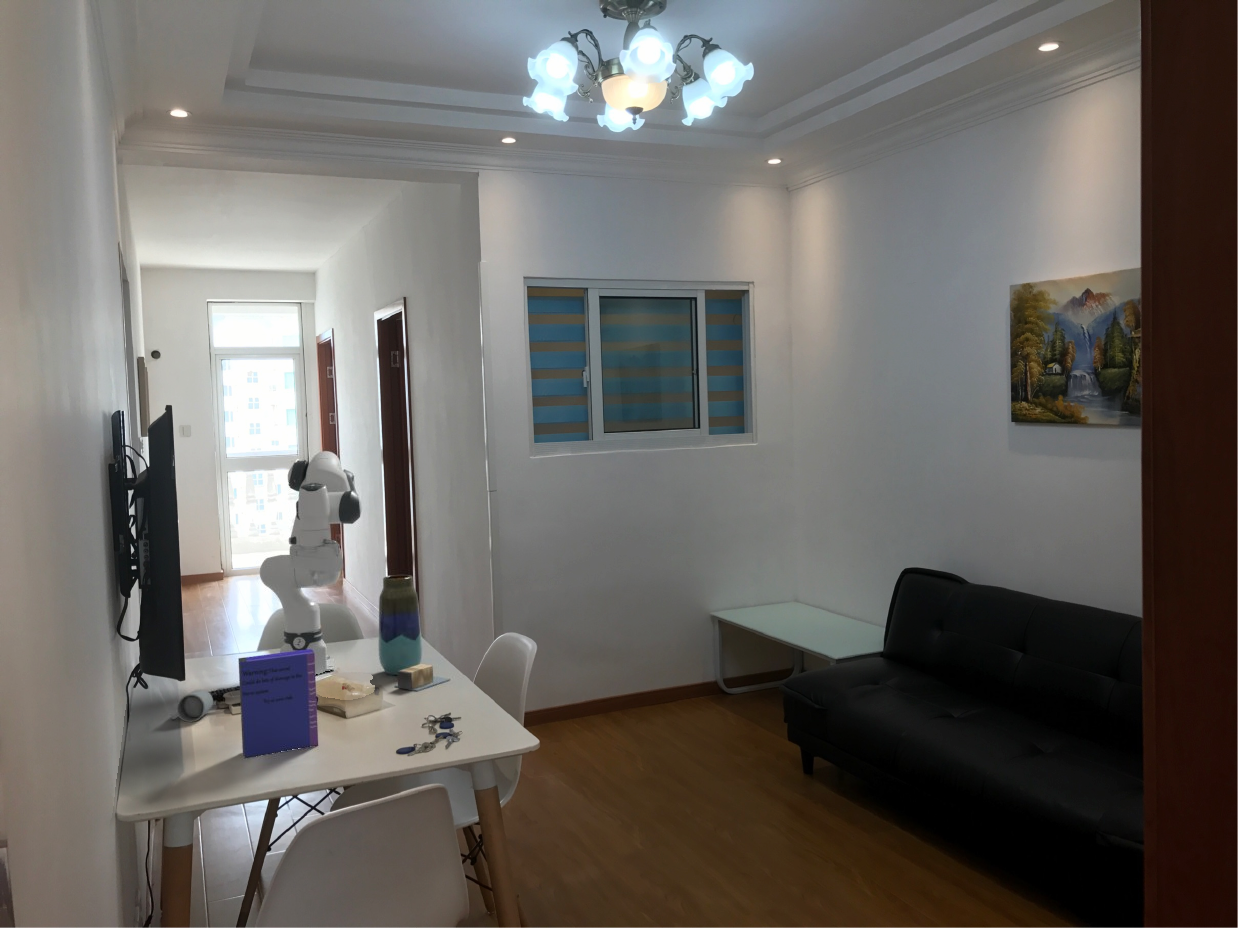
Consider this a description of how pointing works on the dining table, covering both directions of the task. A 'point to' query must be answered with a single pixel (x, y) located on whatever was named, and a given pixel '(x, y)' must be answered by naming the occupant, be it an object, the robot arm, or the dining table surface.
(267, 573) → the robot arm
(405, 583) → the vase
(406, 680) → the oak block
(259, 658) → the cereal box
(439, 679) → the rubber mat
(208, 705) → the ceramic mug
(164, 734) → the dining table surface
